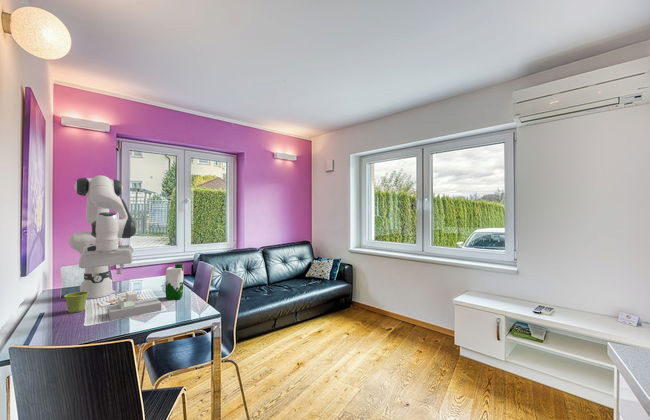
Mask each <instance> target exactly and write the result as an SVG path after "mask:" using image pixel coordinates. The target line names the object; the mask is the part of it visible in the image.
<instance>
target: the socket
mask: <svg viewBox="0 0 650 420" xmlns="http://www.w3.org/2000/svg"><path fill="white" fill-rule="evenodd" d="M133 303H134V304H135V307H132V308H126V309H121V308H120V307H119V305H118V303H115V304H112V305H110V304H109V305H107V306H106V307H107V309H106V310H107V311H106V312H107V317H108V319H109V321H110V322H111V321H117V320H121V319H125V318H132V317H135V316H140V315H146V314H150V313H155V312H159V311H160V312H161V311H162V301H160V300H159V299H158V298H157V297H150V298H146V299H145V298H144V299H140V300H139V299H138V301H133Z"/></svg>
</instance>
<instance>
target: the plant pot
mask: <svg viewBox="0 0 650 420" xmlns="http://www.w3.org/2000/svg"><path fill="white" fill-rule="evenodd" d="M88 293H89V292H80V291H76V292H70V293H67V294H65V295H64V296H63V298H64V299H65V301H66V306H67V312H68V313H70V314H74V313H80V312H82V311H84V310H85V309H86V302H87V299H86V297H87V295H88Z"/></svg>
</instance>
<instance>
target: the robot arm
mask: <svg viewBox="0 0 650 420" xmlns="http://www.w3.org/2000/svg"><path fill="white" fill-rule="evenodd" d="M73 189H74V191H75V193H76V194H77V195H78V196H81V197H86V196H87V198H86V204H85V205H86V206H85V221H86V223H87V224H90V226H91V231H79V232H73V233H72V234H71V235H70V236H69V238H68V245H69V247H70V248H71V249H72V250H74V251H76V252H77V253H79V254H80V257H79V262H78V267H79V269H80V268H81V269H84V274H83V282H81V283H80V285H79V292H89V293H88V295H87V297H86V300H88V299H90V300H91V299H98V298H103V297H107V296H110V295H112V294H115V293H117V291H116V290H114V289H113V280H112V279H111V278H110V271H109V267H110V266H117V265H118V266H119V269H117V270H116V275H121V274H122V270H123V268H124V267H125V265H129V264H130V265H131V264H132V263H133V252H134V247H133V246H132V245H130V244H125V245H122V244H123V242H124V239H130V238H132V237H134V236H135V234H136V233H137V225H136V222H135V220H134V219H133V218H132V215H131V213H130V211H129V209H128V207H127V204H126V203H125V200H124V199H123V198H122V197H120V196H121V195H122V193H123V189H124V187H123V184H122V181H120V180H119V179H111V178H110V177H108V176H106V175H96V176H94V177H79V178H78V179H76V181H75V182H74V188H73ZM110 210H112V211H114V212H111V211H110ZM115 212H116V213H115ZM117 213H118V214H117ZM118 215H119V217H118ZM119 218H120V219H119Z"/></svg>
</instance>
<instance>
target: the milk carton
mask: <svg viewBox="0 0 650 420" xmlns="http://www.w3.org/2000/svg"><path fill="white" fill-rule="evenodd" d="M164 290H165V299H166V300H165V301H180V300H181V299H182V297H183V293H184V266H183V263H175V264H174V266H169V267H167V268H166V269H165V289H164Z"/></svg>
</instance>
